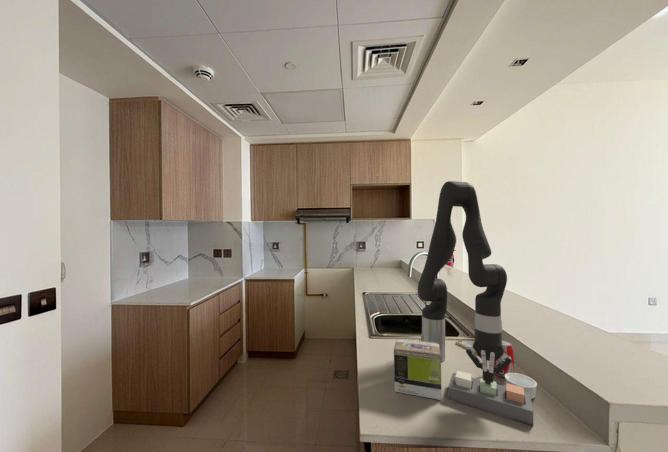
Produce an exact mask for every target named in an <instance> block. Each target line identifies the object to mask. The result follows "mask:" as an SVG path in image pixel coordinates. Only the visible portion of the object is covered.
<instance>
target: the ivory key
mask: <svg viewBox="0 0 668 452" xmlns="http://www.w3.org/2000/svg"><path fill="white" fill-rule="evenodd" d="M472 378H473V375H472V374H471V373H468V372H465V371H460V370H456V377H455V379H456V385H458V386H461V387H465V388H469V389H471V388H472Z"/></svg>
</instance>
